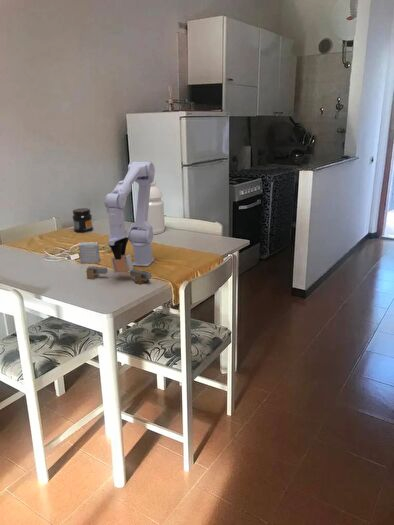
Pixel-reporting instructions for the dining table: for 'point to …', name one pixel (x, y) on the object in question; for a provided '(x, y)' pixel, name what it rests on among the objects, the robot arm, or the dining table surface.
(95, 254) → the medicine box
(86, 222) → the supplement container
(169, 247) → the dining table surface
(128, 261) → the block
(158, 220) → the bottle
